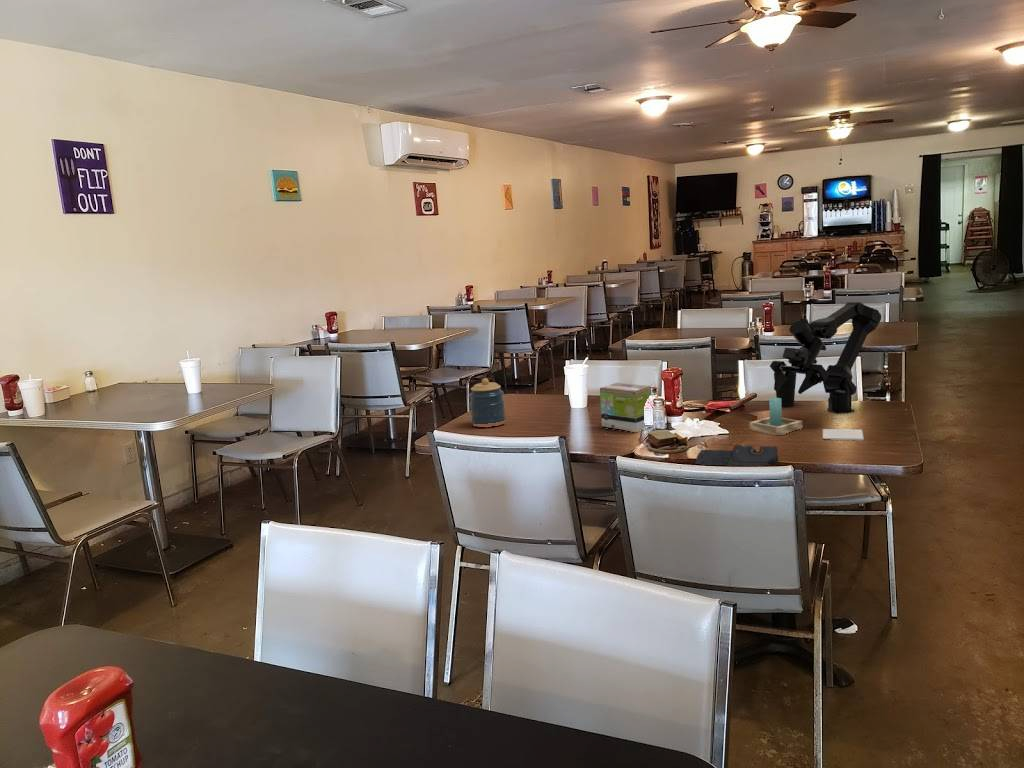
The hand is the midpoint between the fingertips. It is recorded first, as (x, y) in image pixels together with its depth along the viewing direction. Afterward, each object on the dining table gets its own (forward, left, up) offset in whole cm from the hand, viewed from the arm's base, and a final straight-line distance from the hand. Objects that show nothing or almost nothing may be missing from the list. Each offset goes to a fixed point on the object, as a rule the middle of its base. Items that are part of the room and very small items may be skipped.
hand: (786, 391), depth 241 cm
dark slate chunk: (+30, +33, -12) cm, 46 cm away
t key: (+5, +3, -11) cm, 13 cm away
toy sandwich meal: (+43, +11, -12) cm, 46 cm away
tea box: (+48, -19, -12) cm, 53 cm away
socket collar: (+5, +3, -11) cm, 13 cm away
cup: (-13, -28, -12) cm, 33 cm away
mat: (-9, +18, -11) cm, 23 cm away
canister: (+94, -46, -12) cm, 106 cm away
